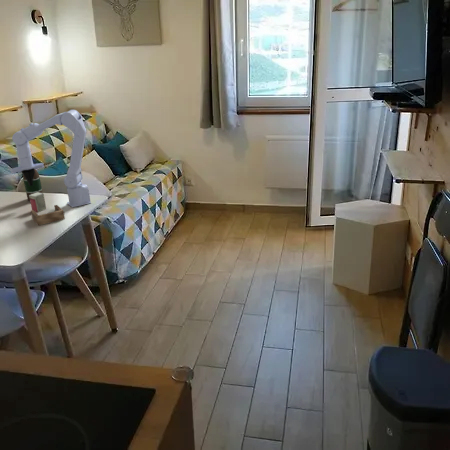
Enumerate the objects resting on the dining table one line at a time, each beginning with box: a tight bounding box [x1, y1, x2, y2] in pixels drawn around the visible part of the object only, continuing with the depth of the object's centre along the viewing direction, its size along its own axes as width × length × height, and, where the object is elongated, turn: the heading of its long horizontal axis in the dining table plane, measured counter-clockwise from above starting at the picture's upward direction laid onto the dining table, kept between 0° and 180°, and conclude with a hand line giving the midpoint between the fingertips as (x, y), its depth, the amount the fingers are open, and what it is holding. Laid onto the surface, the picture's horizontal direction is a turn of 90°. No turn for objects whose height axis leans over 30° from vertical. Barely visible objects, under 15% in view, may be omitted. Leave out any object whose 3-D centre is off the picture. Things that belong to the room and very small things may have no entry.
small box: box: [29, 192, 47, 213], centre depth 224 cm, size 5×4×8 cm
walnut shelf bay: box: [30, 204, 66, 226], centre depth 213 cm, size 12×10×4 cm
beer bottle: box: [22, 169, 44, 202], centre depth 236 cm, size 8×8×24 cm
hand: (30, 185), depth 227 cm, fingers closed
